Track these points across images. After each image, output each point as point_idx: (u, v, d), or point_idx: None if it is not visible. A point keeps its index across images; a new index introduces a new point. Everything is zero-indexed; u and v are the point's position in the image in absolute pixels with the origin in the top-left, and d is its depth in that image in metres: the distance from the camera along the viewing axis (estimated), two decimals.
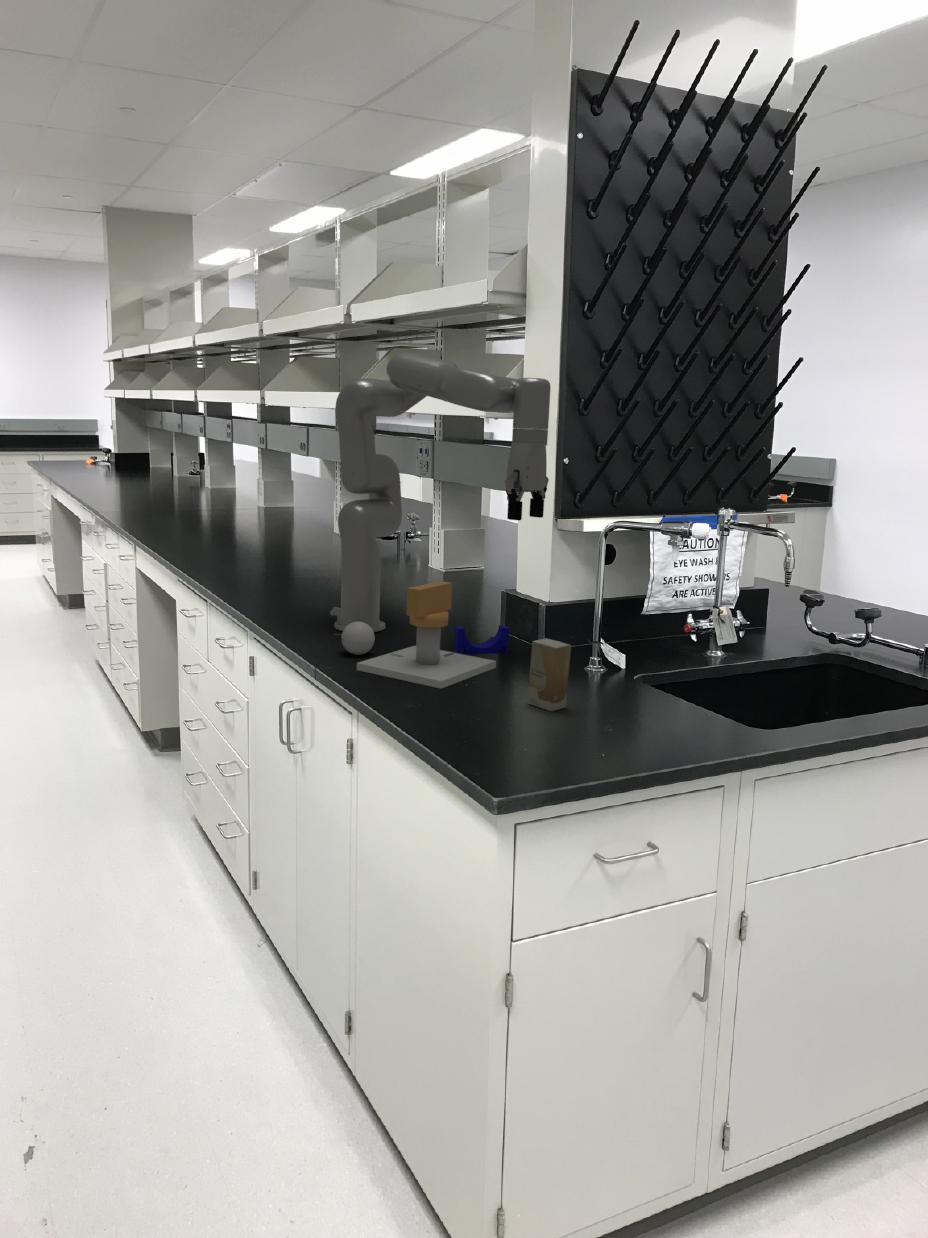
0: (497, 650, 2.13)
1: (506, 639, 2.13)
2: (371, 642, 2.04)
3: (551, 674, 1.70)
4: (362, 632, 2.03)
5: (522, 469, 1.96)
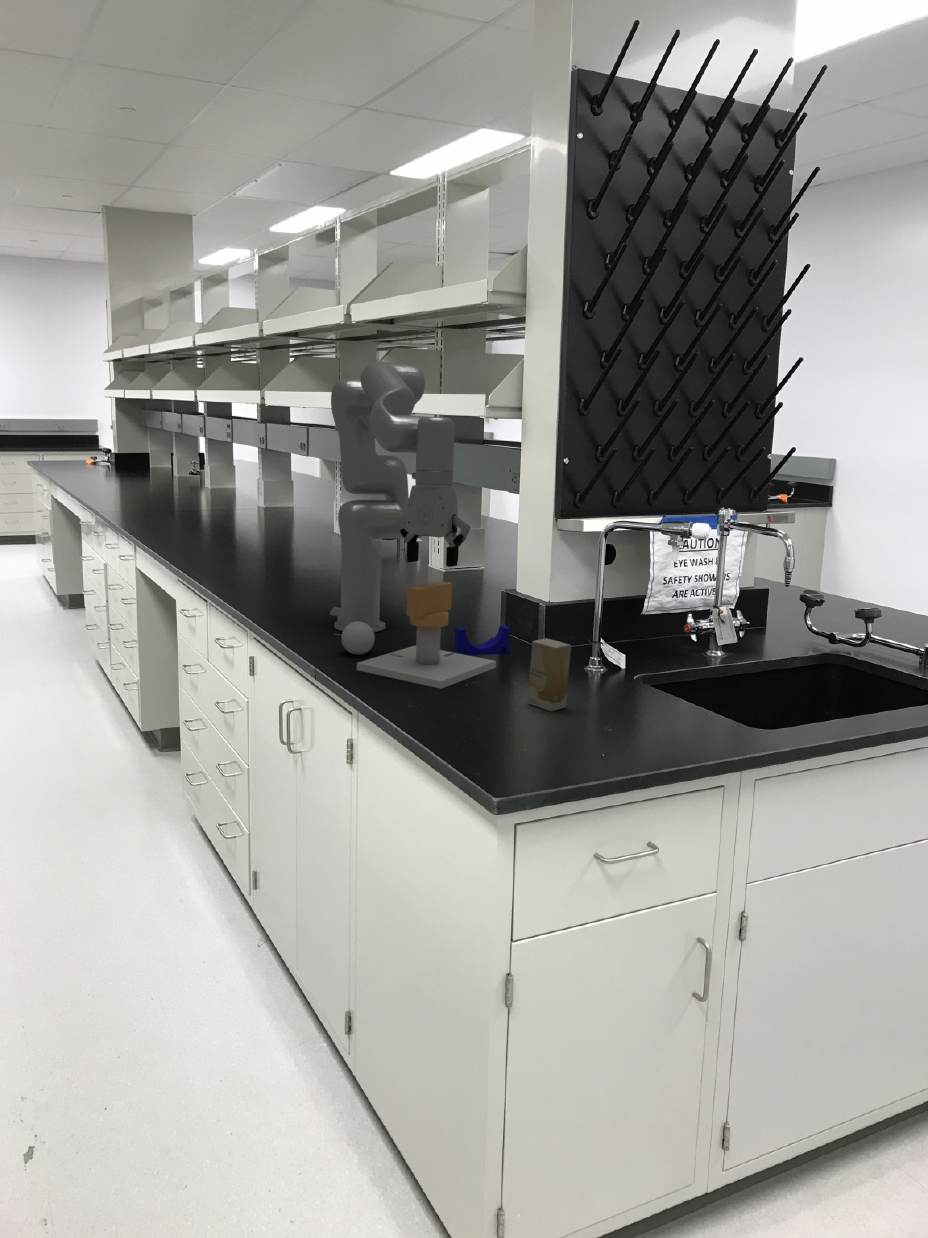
0: (498, 651, 2.12)
1: (507, 640, 2.12)
2: (371, 642, 2.04)
3: (551, 674, 1.70)
4: (362, 632, 2.03)
5: (456, 513, 1.88)
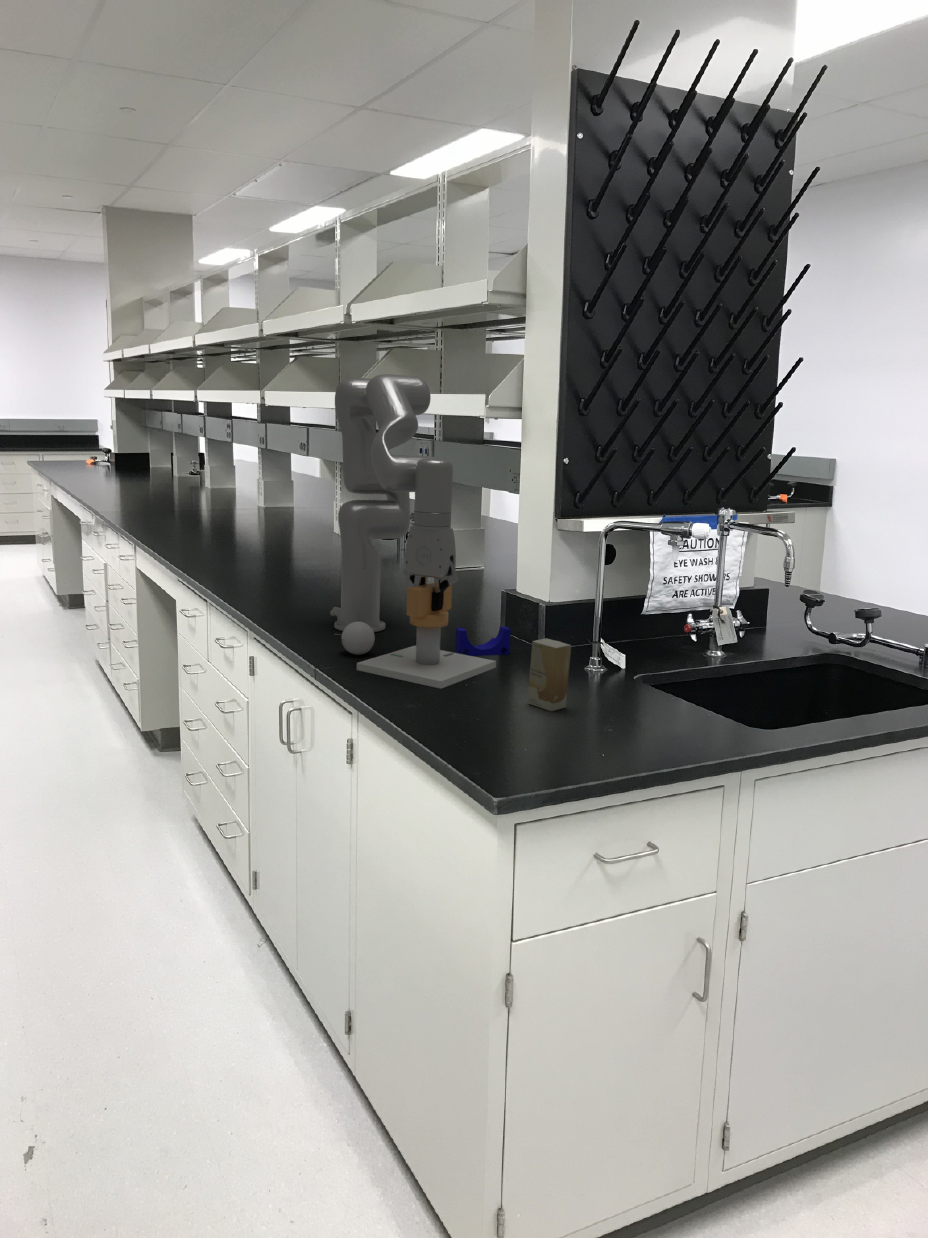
0: (498, 651, 2.11)
1: (507, 640, 2.12)
2: (371, 642, 2.04)
3: (551, 674, 1.70)
4: (362, 632, 2.03)
5: (454, 554, 1.90)
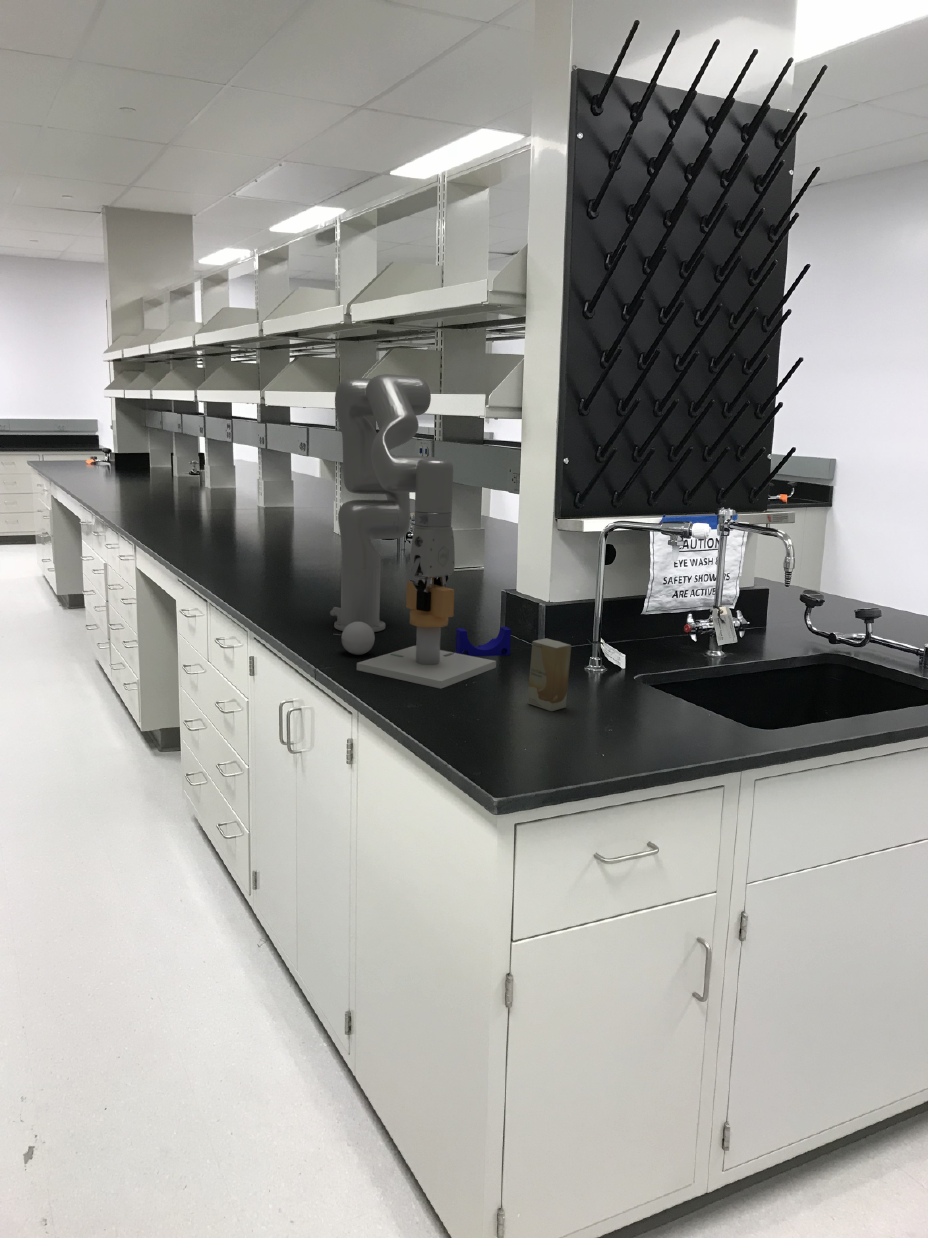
0: (499, 652, 2.11)
1: (508, 641, 2.11)
2: (371, 642, 2.04)
3: (552, 674, 1.70)
4: (362, 632, 2.03)
5: None
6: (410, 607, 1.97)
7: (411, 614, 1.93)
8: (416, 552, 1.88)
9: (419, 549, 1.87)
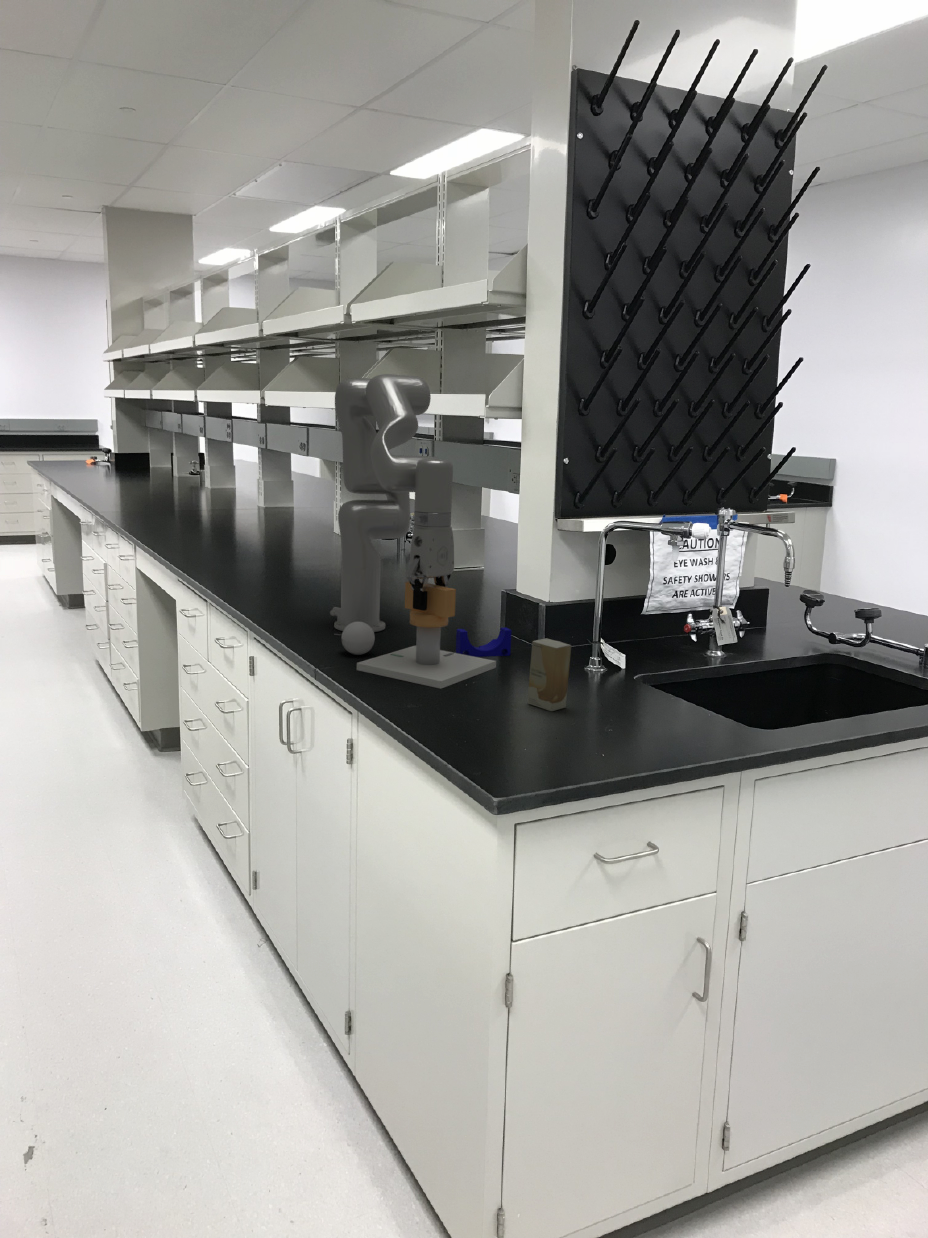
0: (499, 653, 2.10)
1: (508, 641, 2.11)
2: (371, 642, 2.04)
3: (551, 674, 1.70)
4: (362, 632, 2.03)
5: None
6: (409, 607, 1.96)
7: (412, 614, 1.92)
8: (415, 552, 1.88)
9: (419, 549, 1.87)
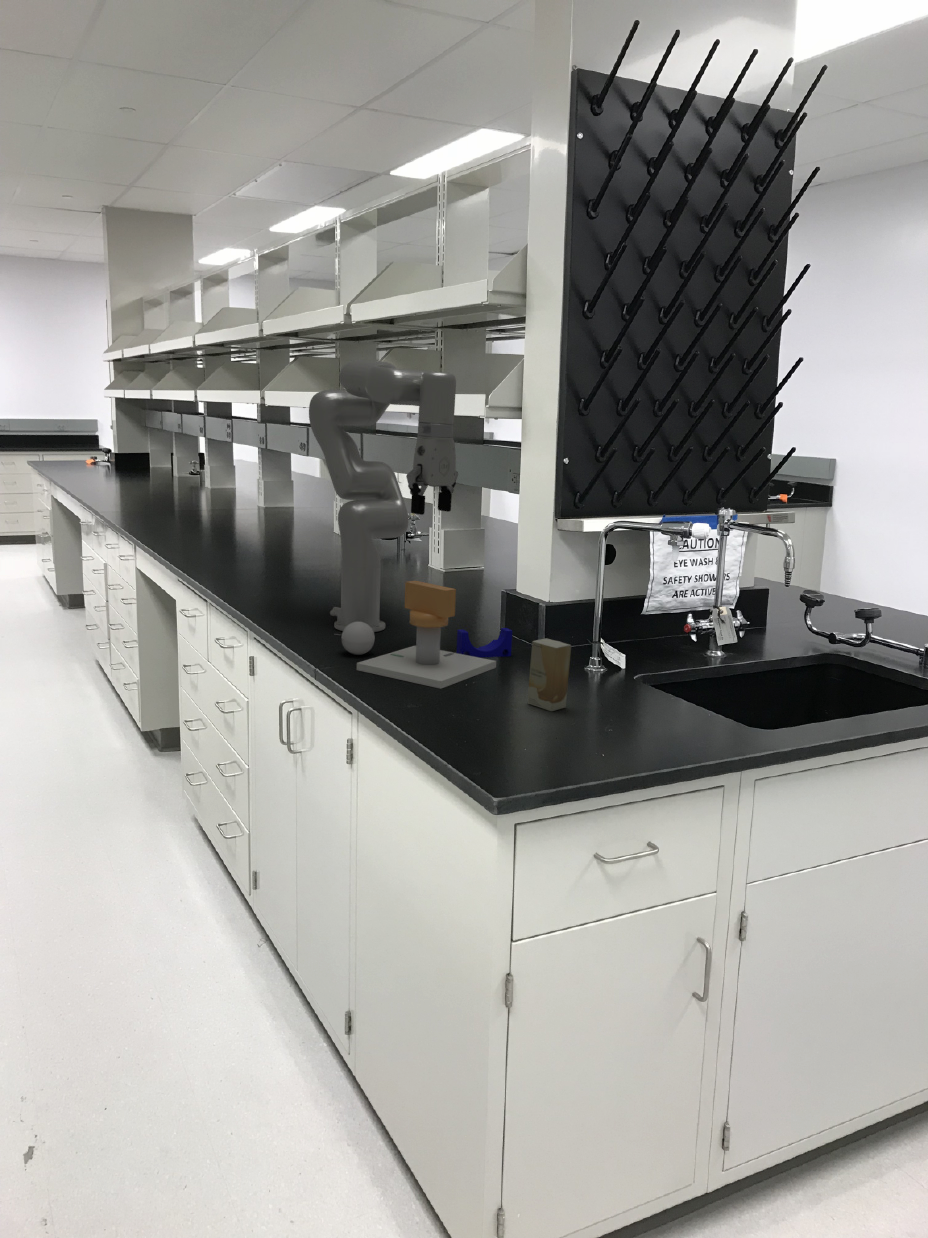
0: (500, 653, 2.10)
1: (509, 642, 2.10)
2: (371, 642, 2.04)
3: (551, 674, 1.70)
4: (362, 632, 2.03)
5: None
6: (409, 607, 1.96)
7: (412, 614, 1.92)
8: (418, 461, 1.96)
9: (421, 458, 1.96)
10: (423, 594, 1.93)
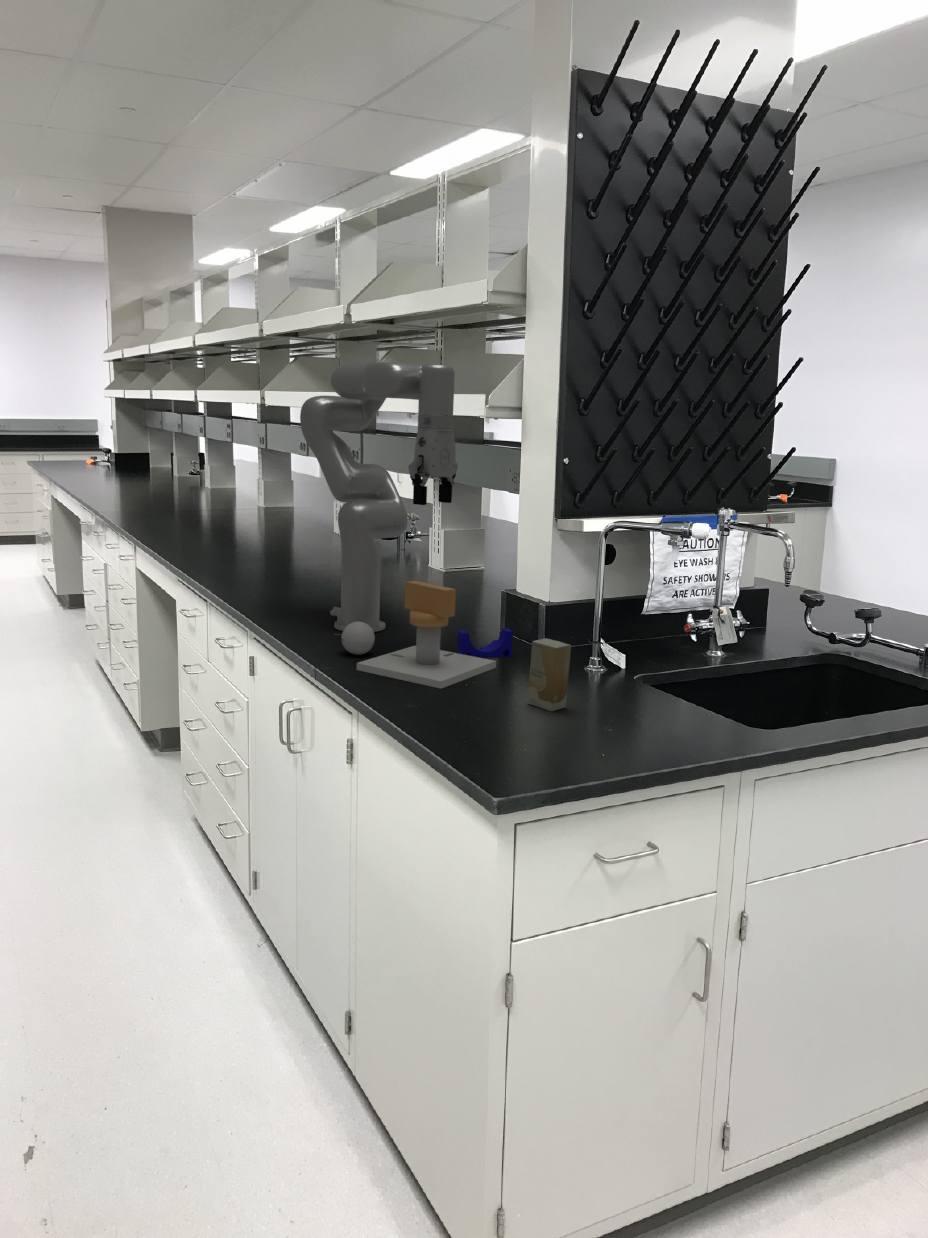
0: (501, 654, 2.09)
1: (510, 642, 2.10)
2: (371, 642, 2.04)
3: (551, 674, 1.70)
4: (362, 632, 2.03)
5: None
6: (409, 607, 1.96)
7: (412, 614, 1.92)
8: (419, 452, 1.99)
9: (422, 449, 1.99)
10: (423, 594, 1.93)
